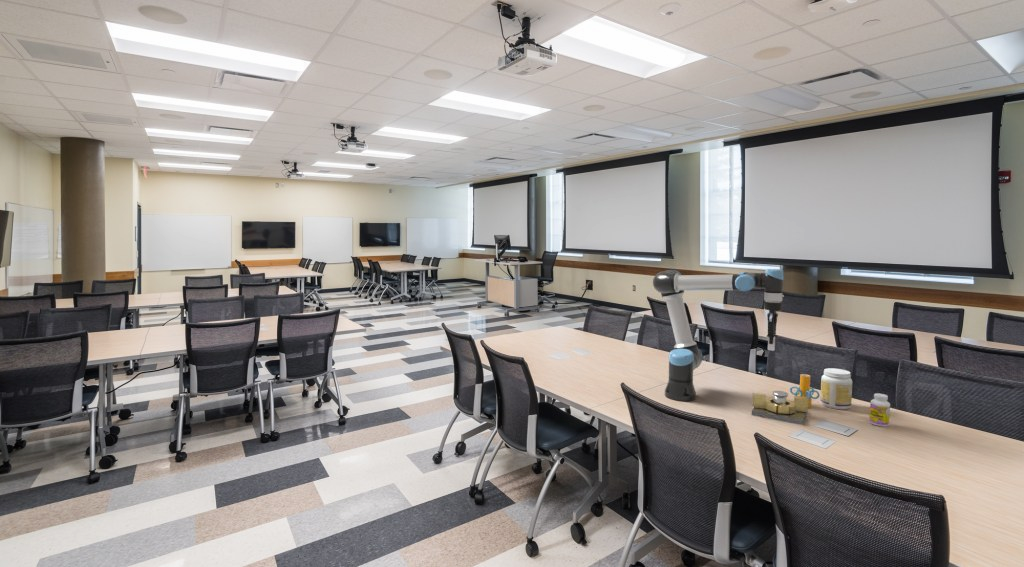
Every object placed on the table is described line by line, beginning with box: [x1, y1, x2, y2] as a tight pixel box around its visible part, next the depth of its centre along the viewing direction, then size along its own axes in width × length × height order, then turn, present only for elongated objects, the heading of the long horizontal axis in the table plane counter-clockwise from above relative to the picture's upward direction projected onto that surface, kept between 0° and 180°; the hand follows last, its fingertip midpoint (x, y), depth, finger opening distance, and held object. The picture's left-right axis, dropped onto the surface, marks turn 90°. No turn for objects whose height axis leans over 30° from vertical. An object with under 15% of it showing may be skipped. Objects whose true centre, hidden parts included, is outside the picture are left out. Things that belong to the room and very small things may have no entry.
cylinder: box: [789, 373, 821, 409], centre depth 221 cm, size 12×10×15 cm
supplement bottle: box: [868, 392, 891, 428], centre depth 199 cm, size 7×7×13 cm
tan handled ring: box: [752, 392, 809, 414], centre depth 212 cm, size 22×12×6 cm, turn 74°
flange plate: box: [750, 390, 808, 426], centre depth 212 cm, size 20×18×10 cm
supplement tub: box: [820, 367, 853, 410], centre depth 221 cm, size 12×12×17 cm
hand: (771, 350), depth 223 cm, fingers closed
